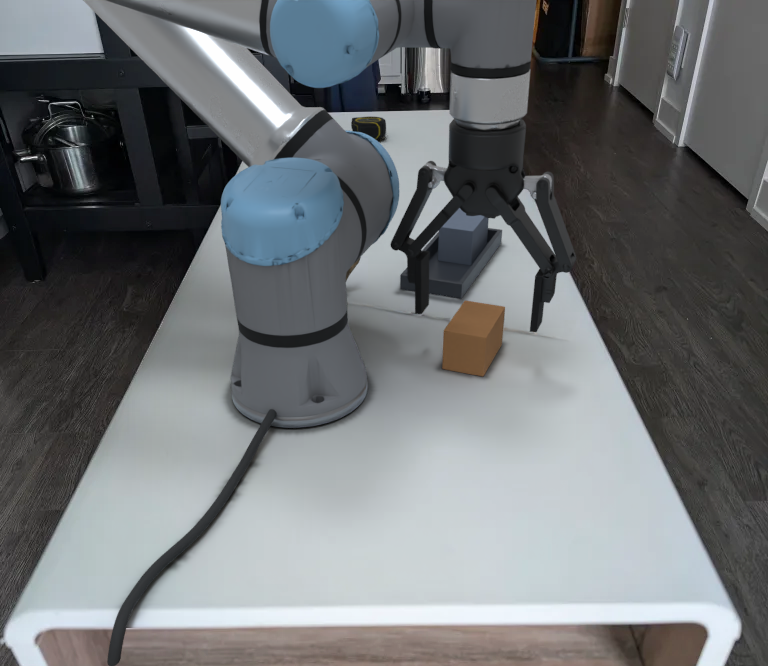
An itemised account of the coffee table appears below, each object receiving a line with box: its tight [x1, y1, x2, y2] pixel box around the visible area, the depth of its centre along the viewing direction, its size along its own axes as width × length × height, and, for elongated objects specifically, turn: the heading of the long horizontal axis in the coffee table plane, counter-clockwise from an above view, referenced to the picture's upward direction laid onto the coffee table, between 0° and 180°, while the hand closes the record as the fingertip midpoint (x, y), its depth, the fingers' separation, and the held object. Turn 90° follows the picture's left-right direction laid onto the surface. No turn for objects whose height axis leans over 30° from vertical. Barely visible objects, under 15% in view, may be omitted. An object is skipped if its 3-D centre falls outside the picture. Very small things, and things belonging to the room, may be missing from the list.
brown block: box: [441, 300, 506, 377], centre depth 93 cm, size 8×5×5 cm, turn 158°
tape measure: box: [350, 116, 387, 140], centre depth 161 cm, size 7×7×4 cm
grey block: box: [438, 208, 490, 265], centre depth 115 cm, size 8×5×5 cm, turn 158°
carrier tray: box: [399, 227, 503, 300], centre depth 113 cm, size 20×9×2 cm, turn 158°
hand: (477, 318), depth 92 cm, fingers open, 13 cm apart
